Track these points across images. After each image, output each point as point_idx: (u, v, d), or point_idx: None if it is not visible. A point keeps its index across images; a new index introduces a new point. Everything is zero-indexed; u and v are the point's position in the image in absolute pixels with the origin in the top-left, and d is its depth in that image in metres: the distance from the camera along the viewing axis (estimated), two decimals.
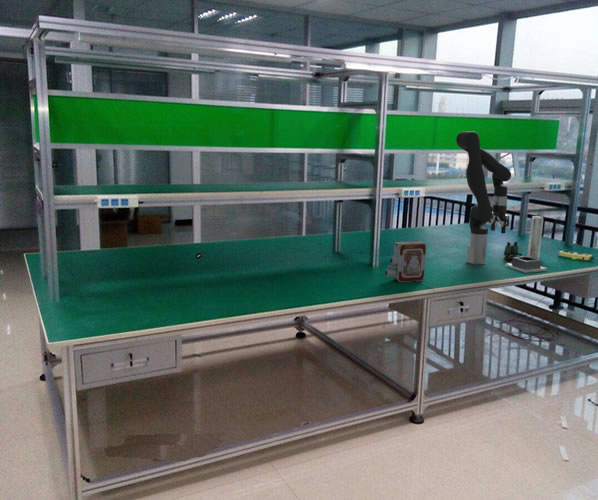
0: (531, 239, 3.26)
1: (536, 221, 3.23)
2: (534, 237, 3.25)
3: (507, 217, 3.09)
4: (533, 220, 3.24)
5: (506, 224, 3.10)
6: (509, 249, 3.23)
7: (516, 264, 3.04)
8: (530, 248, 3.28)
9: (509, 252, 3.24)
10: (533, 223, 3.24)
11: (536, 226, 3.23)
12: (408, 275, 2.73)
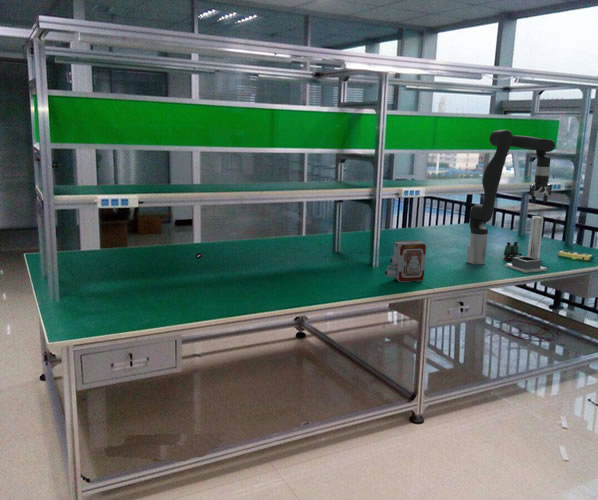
0: (531, 239, 3.26)
1: (536, 221, 3.23)
2: (534, 237, 3.25)
3: None
4: (533, 220, 3.24)
5: None
6: (509, 249, 3.23)
7: (516, 264, 3.04)
8: (530, 248, 3.28)
9: (509, 252, 3.24)
10: (533, 223, 3.24)
11: (536, 226, 3.23)
12: (408, 275, 2.73)
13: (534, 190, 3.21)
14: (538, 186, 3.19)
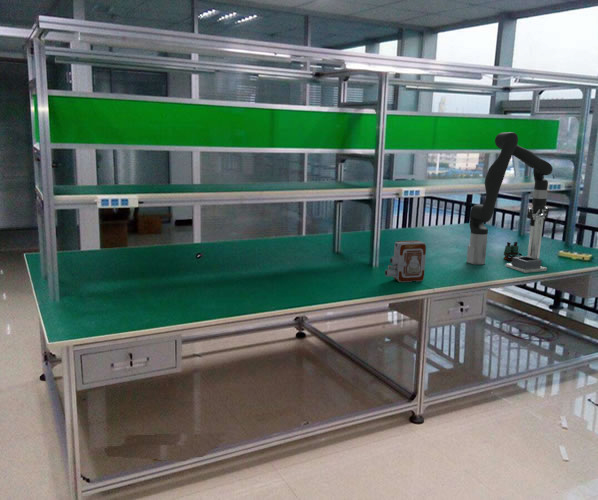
0: (531, 239, 3.26)
1: (536, 221, 3.23)
2: (534, 237, 3.25)
3: None
4: None
5: (546, 216, 3.27)
6: (509, 249, 3.23)
7: (516, 264, 3.04)
8: (530, 248, 3.28)
9: (509, 252, 3.24)
10: None
11: (536, 226, 3.23)
12: (408, 275, 2.73)
13: (532, 213, 3.25)
14: (536, 209, 3.22)
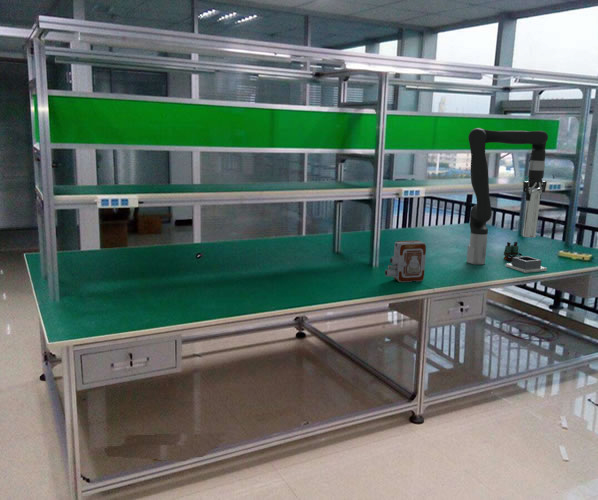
0: (527, 215, 2.98)
1: (532, 195, 2.94)
2: (530, 213, 2.96)
3: None
4: None
5: None
6: (509, 249, 3.23)
7: (516, 264, 3.04)
8: (526, 225, 2.99)
9: (509, 252, 3.24)
10: None
11: (532, 201, 2.95)
12: (408, 275, 2.73)
13: (528, 187, 2.96)
14: (532, 182, 2.94)
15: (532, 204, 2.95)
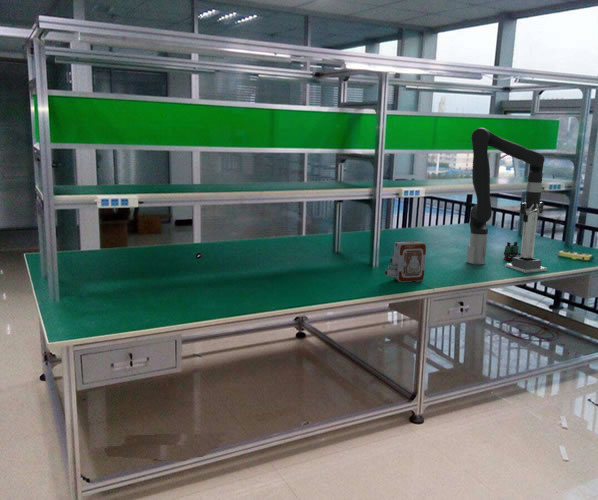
0: (524, 236, 3.00)
1: (530, 217, 2.96)
2: (528, 234, 2.98)
3: None
4: None
5: None
6: (509, 249, 3.23)
7: (516, 264, 3.04)
8: (523, 246, 3.01)
9: (509, 252, 3.24)
10: None
11: (530, 222, 2.96)
12: (408, 275, 2.73)
13: (525, 208, 2.98)
14: (529, 204, 2.95)
15: (529, 225, 2.97)
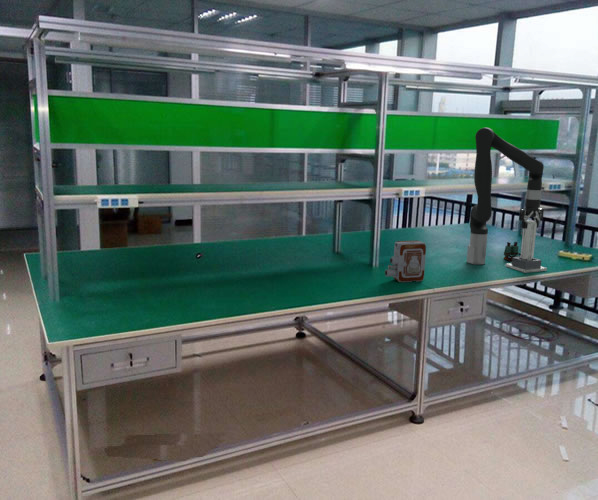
0: (523, 245, 3.01)
1: (529, 226, 2.97)
2: (527, 243, 2.99)
3: None
4: (526, 224, 2.98)
5: (541, 217, 3.01)
6: (509, 249, 3.23)
7: (516, 264, 3.04)
8: (522, 255, 3.02)
9: (509, 252, 3.24)
10: (526, 228, 2.99)
11: (529, 231, 2.98)
12: (408, 275, 2.73)
13: (524, 215, 2.98)
14: (529, 211, 2.96)
15: (529, 234, 2.98)
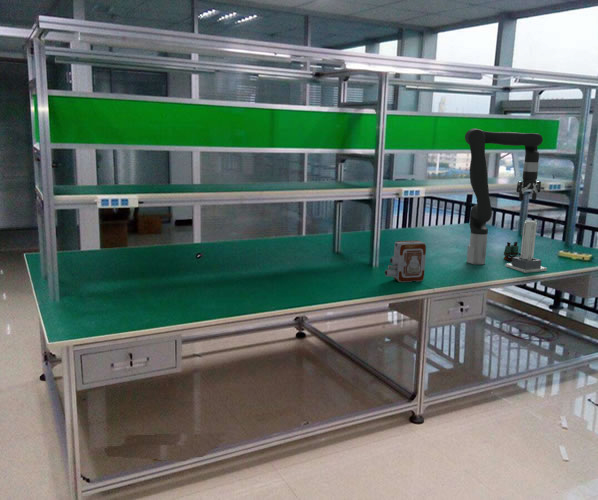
0: (523, 245, 3.01)
1: (529, 226, 2.97)
2: (527, 243, 2.99)
3: None
4: (526, 225, 2.98)
5: None
6: (509, 249, 3.23)
7: (516, 264, 3.04)
8: (522, 255, 3.02)
9: (509, 252, 3.24)
10: (526, 228, 2.98)
11: (529, 231, 2.98)
12: (408, 275, 2.73)
13: (522, 187, 3.04)
14: (526, 183, 3.01)
15: (529, 234, 2.98)
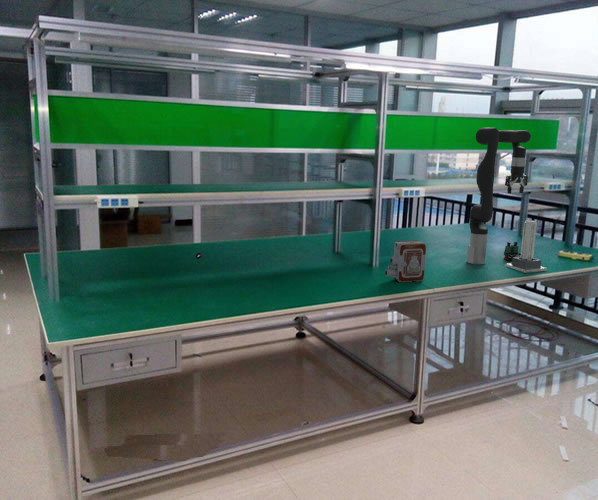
0: (523, 245, 3.01)
1: (529, 226, 2.97)
2: (527, 243, 2.99)
3: None
4: (526, 225, 2.98)
5: None
6: (509, 249, 3.23)
7: (516, 264, 3.04)
8: (522, 255, 3.02)
9: (509, 252, 3.24)
10: (526, 228, 2.98)
11: (529, 231, 2.98)
12: (408, 275, 2.73)
13: (510, 181, 3.24)
14: (514, 177, 3.22)
15: (529, 234, 2.98)
